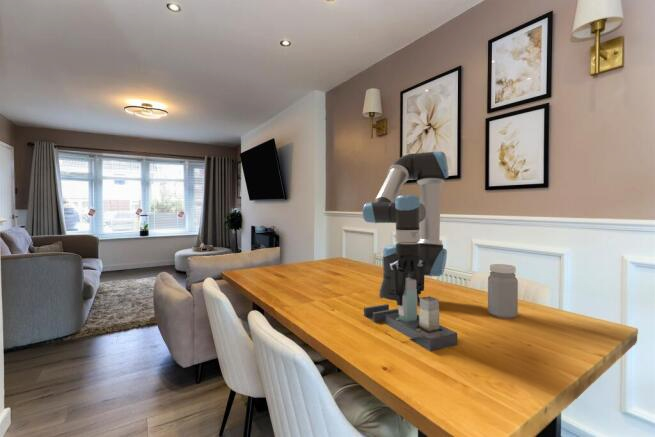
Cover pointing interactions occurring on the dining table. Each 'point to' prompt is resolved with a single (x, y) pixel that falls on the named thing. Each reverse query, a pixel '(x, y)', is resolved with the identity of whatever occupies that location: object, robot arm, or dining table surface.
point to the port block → (425, 326)
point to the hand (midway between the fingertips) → (407, 313)
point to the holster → (378, 312)
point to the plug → (410, 301)
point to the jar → (503, 291)
